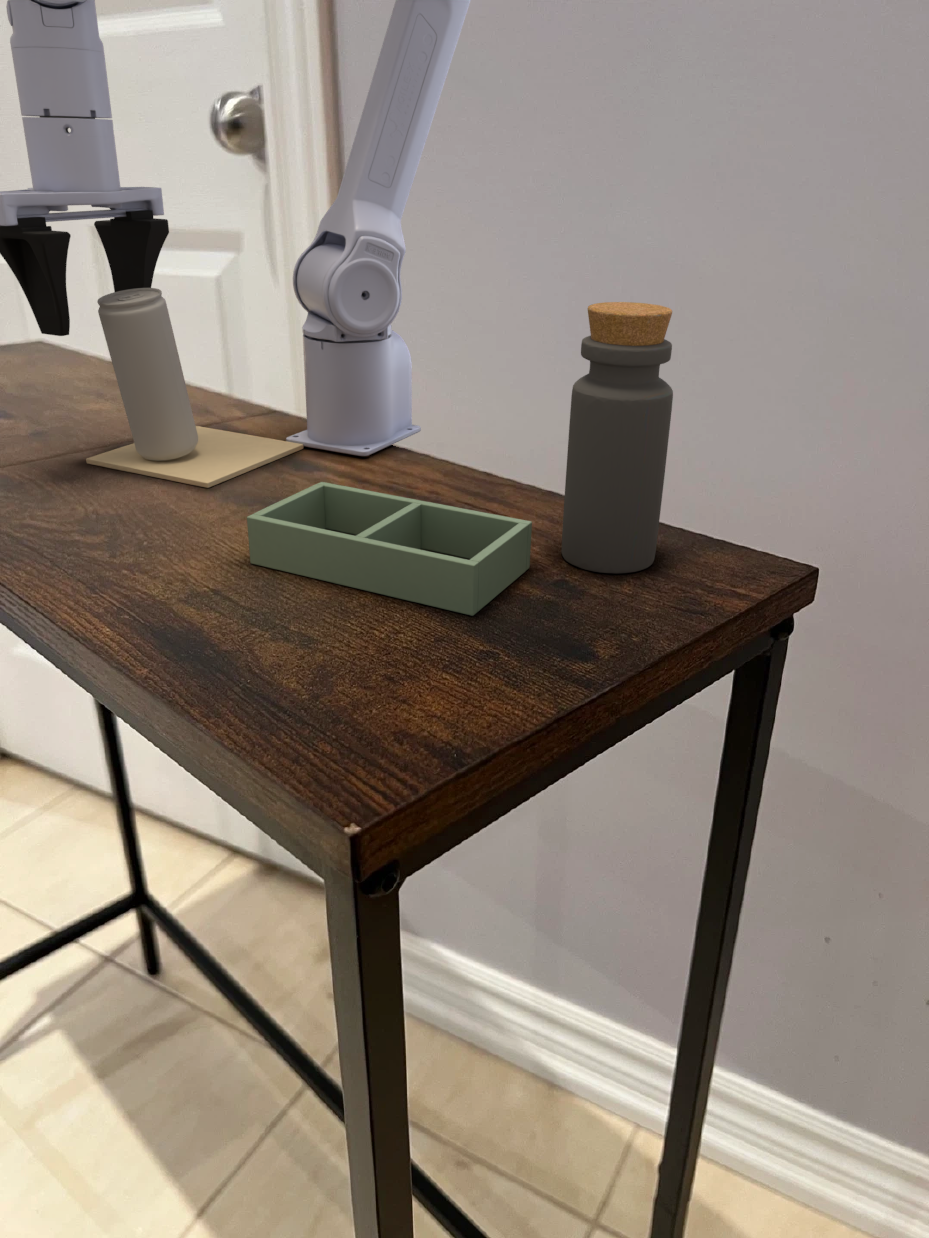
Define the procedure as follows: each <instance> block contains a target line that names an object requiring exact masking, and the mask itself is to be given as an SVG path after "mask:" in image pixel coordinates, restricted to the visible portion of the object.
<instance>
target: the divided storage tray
mask: <svg viewBox="0 0 929 1238" xmlns="http://www.w3.org/2000/svg"><path fill="white" fill-rule="evenodd" d="M246 524H247V538H248V549H249V550H248V552H249V562H250V564H251V565H255V566H260V567H265V568H268V569H273V570H278V571H281V572H285V573H289V574H294V575H298V576H303V577H307V578H311V579H316V580H319V581H324V582H327V583H332V584H336V585H339V586H344V587H349V588H353V589H358V590H361V591H366V592H370V593H375V594H378V595H382V596H387V597H392V598H395V599H400V600H403V601H408V602H413V603H417V604H421V605H424V606H430V607H433V608H437V609H441V610H446V611H451V612H455V613H459V614H462V615H463V614H464V615H468V616H472V617H473V616H475V615H476V614H477V613H478V612H479V611H481V610H482V609H483V608H484V607H485V606H487V605H488V604H489V603H490V602H491V601H492V600H493V599H495V598H496V597H497V596H498V595H499V594H500V593H502V592H503V591H504V590H505V589H506V588H508V587H509V586H510V585H511V584H512V583H514V582H515V581H516V580H517V579H518V578H519V577H520V576H522V575H523V574H524V573H525V572H526V571H528V570H529V569H530V566H531V551H532V550H531V549H532V534H533V533H532V530H533V522H532V520H526V519H525V520H524V519H520V518H515V517H511V516H505V515H500V514H494V513H489V512H484V511H479V510H473V509H469V508H468V509H467V508H463V507H457V506H452V505H447V504H443V503H437V502H431V501H425V500H420V499H415V498H409V497H405V496H400V495H394V494H389V493H383V492H378V491H373V490H368V489H362V488H357V487H352V486H346V485H342V484H341V485H340V484H336V483H330V482H325V481H319V482H318V483H315V484H313V485H311V486H309V487H307V488H304V489H302V490H301V491H298V492H297V493H293V494H292V495H290V496H288V497H286V498H284V499H281V500H279V501H277V502H275V503H273V504H270V505H268V506H266V507H264V508H262V509H260V510H258V511H256V512H253V513H252V514H250V515H247V516H246Z"/></svg>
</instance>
